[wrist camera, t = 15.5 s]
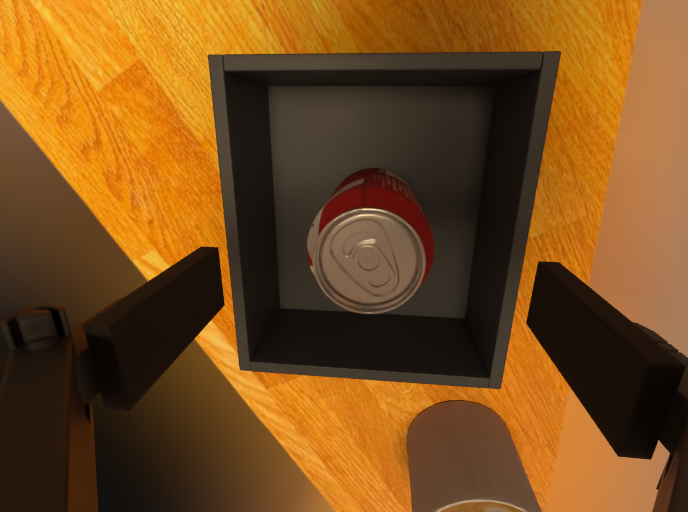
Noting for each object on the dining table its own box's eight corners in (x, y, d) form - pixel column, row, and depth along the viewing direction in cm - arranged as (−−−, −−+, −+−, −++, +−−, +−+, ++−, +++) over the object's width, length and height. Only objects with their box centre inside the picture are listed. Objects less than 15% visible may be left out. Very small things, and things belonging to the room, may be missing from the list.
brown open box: (504, 75, 26) (561, 50, 18) (470, 321, 33) (500, 389, 24) (260, 75, 28) (207, 54, 19) (274, 310, 34) (239, 370, 26)
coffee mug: (413, 394, 36) (424, 490, 26) (519, 407, 35) (569, 510, 26) (397, 494, 40) (402, 607, 31) (491, 508, 40) (525, 627, 30)
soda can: (391, 149, 28) (396, 165, 16) (432, 225, 29) (463, 289, 18) (315, 195, 29) (273, 238, 18) (358, 265, 31) (344, 345, 20)
